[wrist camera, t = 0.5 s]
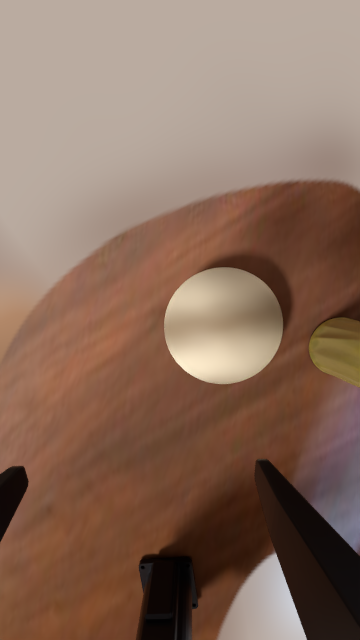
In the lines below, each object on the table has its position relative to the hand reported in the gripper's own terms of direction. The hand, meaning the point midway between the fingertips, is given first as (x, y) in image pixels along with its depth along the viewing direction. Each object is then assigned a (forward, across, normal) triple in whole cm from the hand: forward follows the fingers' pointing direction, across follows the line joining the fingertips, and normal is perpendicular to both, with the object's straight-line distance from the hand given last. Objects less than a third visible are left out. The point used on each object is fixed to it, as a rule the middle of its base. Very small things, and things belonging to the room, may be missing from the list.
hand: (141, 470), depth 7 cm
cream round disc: (+14, -6, -2) cm, 16 cm away
